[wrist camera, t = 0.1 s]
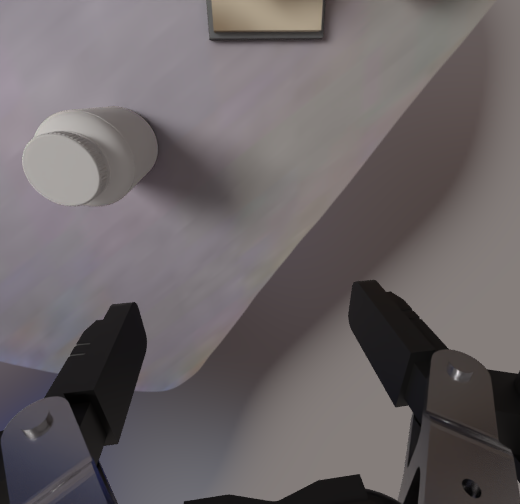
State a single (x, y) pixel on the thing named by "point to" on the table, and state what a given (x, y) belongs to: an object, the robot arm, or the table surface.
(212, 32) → the mat
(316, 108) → the table surface
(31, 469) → the robot arm
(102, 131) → the pill bottle
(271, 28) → the lid
